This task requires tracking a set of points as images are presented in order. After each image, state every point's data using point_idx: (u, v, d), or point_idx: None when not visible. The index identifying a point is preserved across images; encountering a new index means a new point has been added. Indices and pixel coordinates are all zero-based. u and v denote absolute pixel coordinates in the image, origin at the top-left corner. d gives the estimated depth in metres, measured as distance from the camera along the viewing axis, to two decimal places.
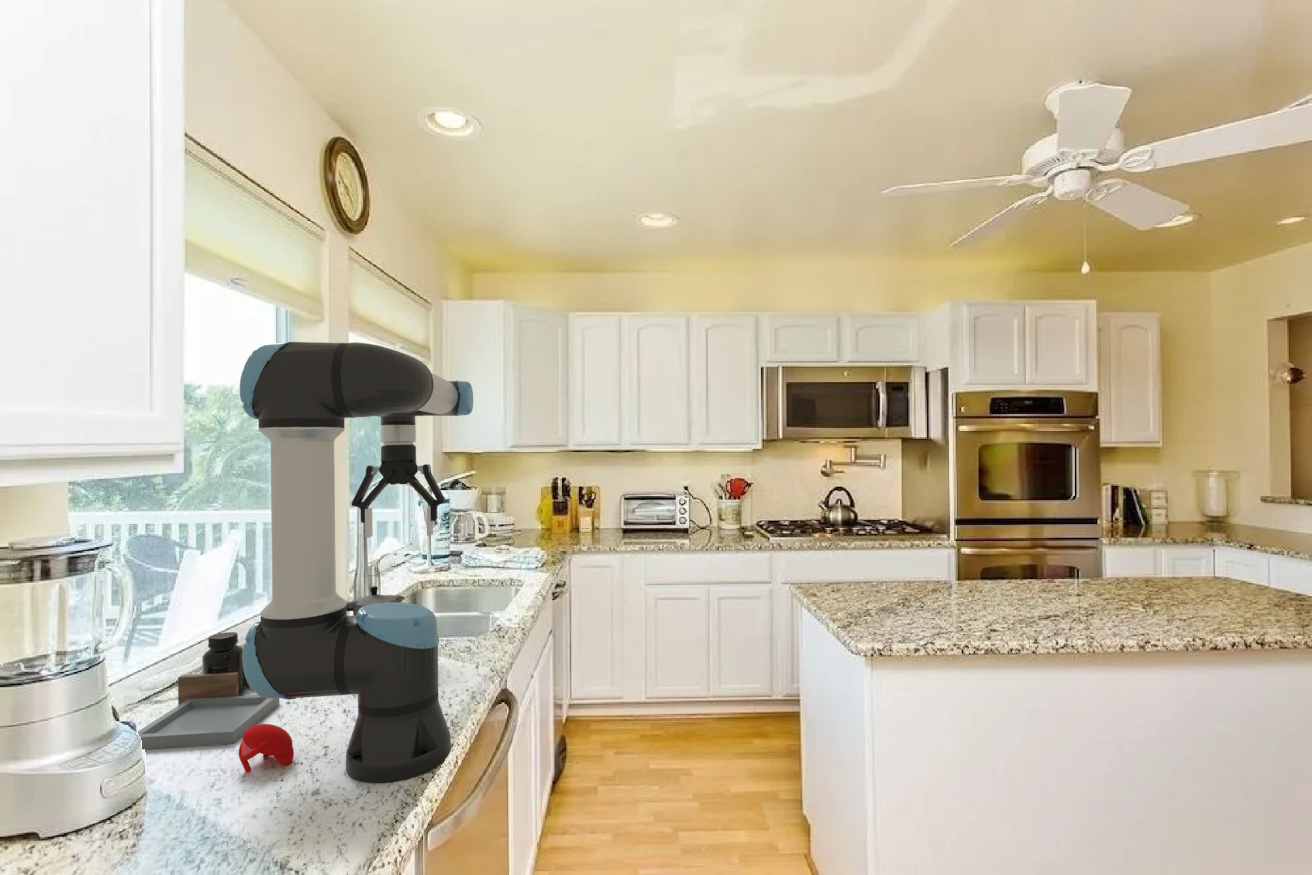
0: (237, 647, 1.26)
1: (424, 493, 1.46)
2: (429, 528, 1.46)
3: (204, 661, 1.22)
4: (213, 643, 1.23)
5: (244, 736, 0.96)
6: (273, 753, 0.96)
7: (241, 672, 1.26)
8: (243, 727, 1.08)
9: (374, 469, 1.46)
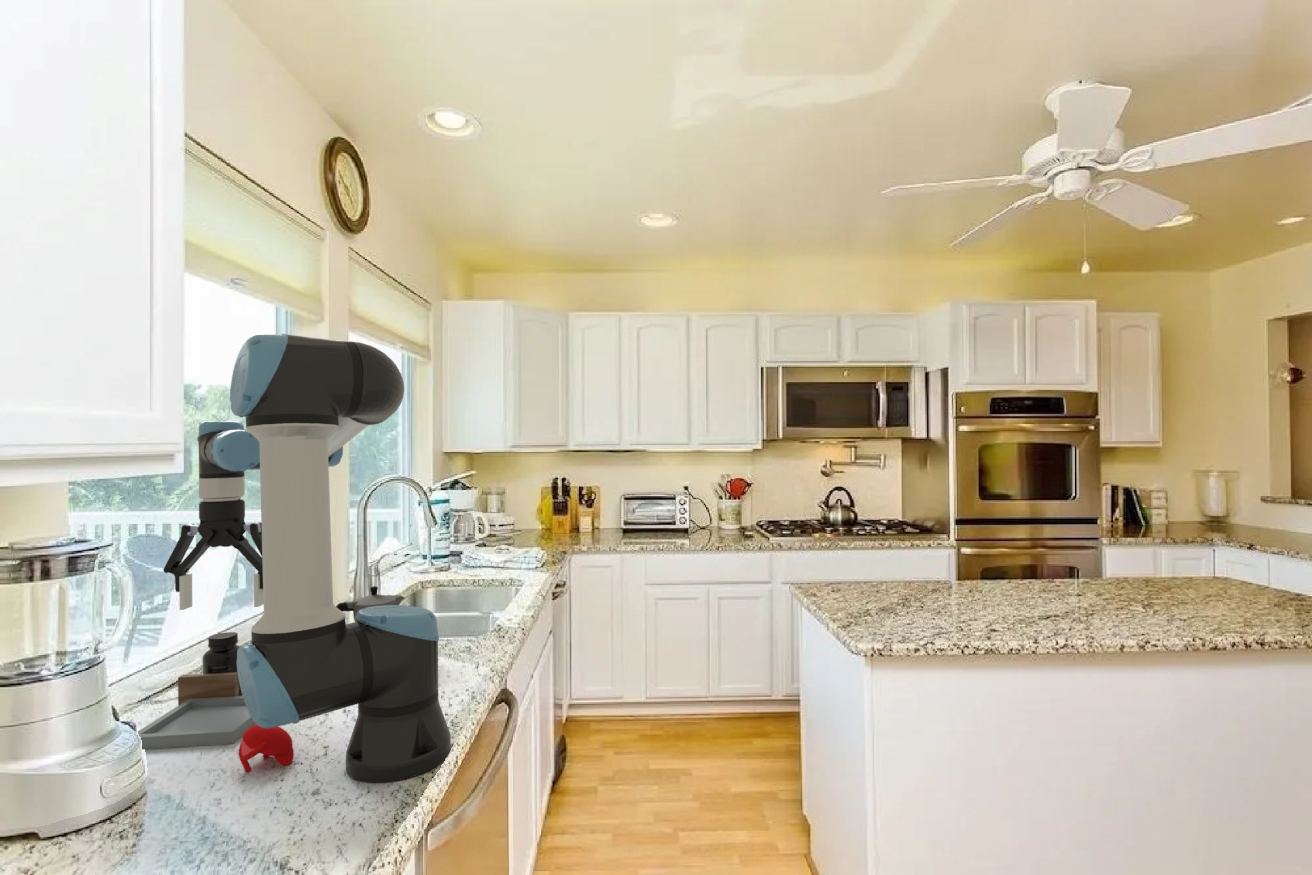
0: (237, 647, 1.26)
1: (251, 557, 1.25)
2: (257, 598, 1.25)
3: (204, 661, 1.22)
4: (213, 643, 1.23)
5: (244, 736, 0.96)
6: (273, 753, 0.96)
7: None
8: (243, 727, 1.08)
9: (192, 529, 1.25)
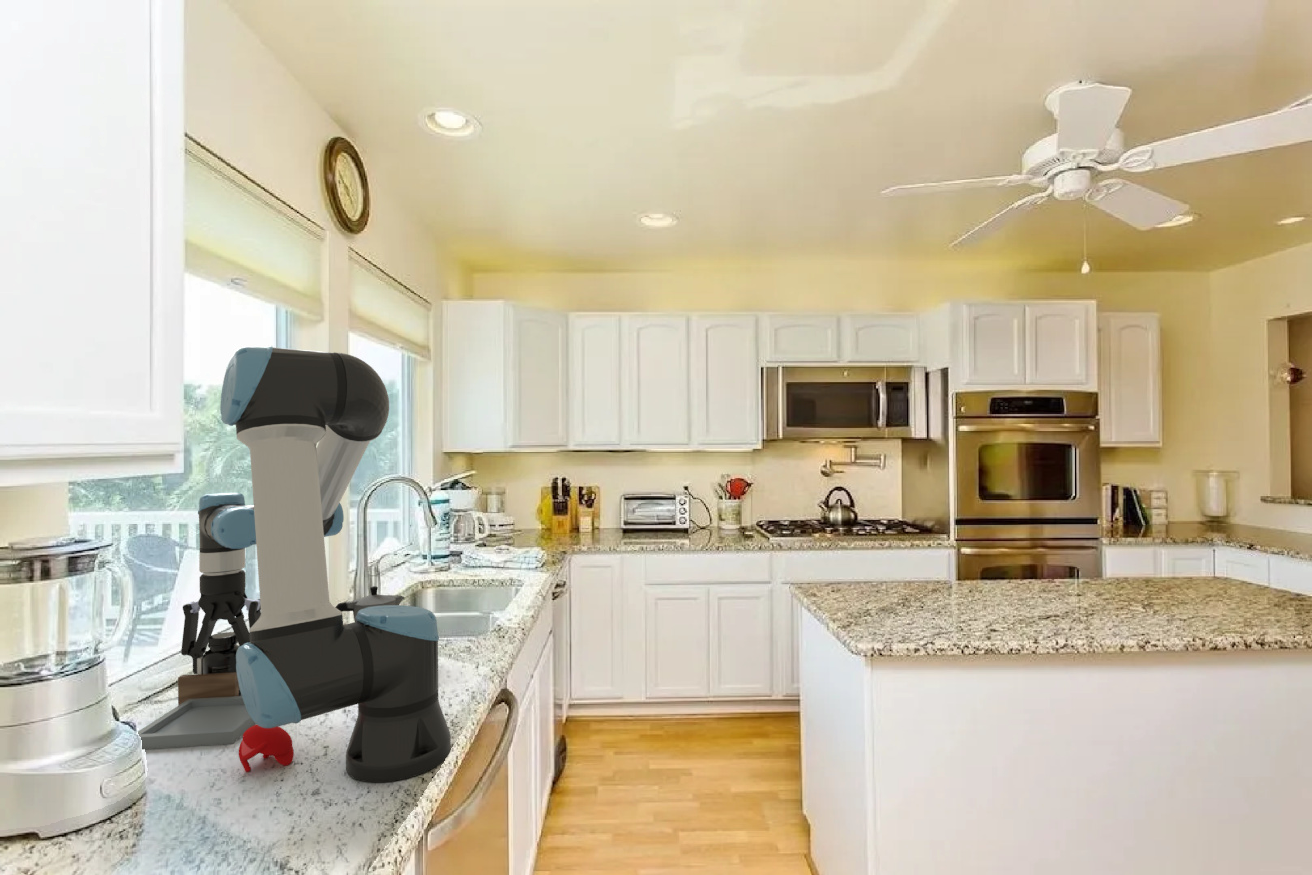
0: (237, 647, 1.26)
1: (241, 637, 1.25)
2: None
3: (204, 661, 1.22)
4: (213, 643, 1.23)
5: (244, 736, 0.96)
6: (273, 753, 0.96)
7: None
8: (243, 727, 1.08)
9: (193, 606, 1.24)
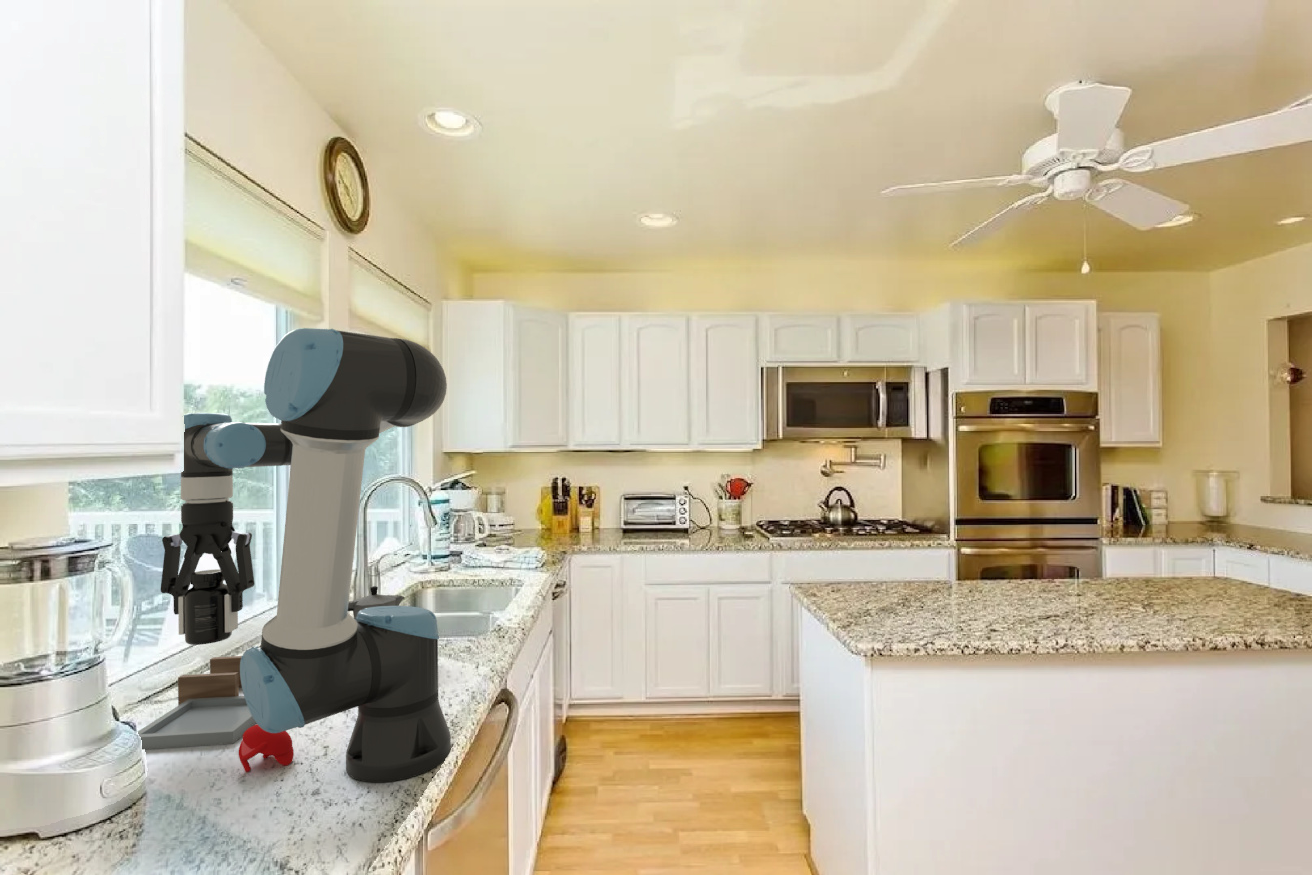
0: (223, 585, 1.13)
1: (228, 573, 1.12)
2: (228, 622, 1.11)
3: (186, 599, 1.09)
4: (196, 579, 1.10)
5: (244, 736, 0.96)
6: (273, 753, 0.96)
7: None
8: (243, 727, 1.08)
9: (174, 539, 1.11)
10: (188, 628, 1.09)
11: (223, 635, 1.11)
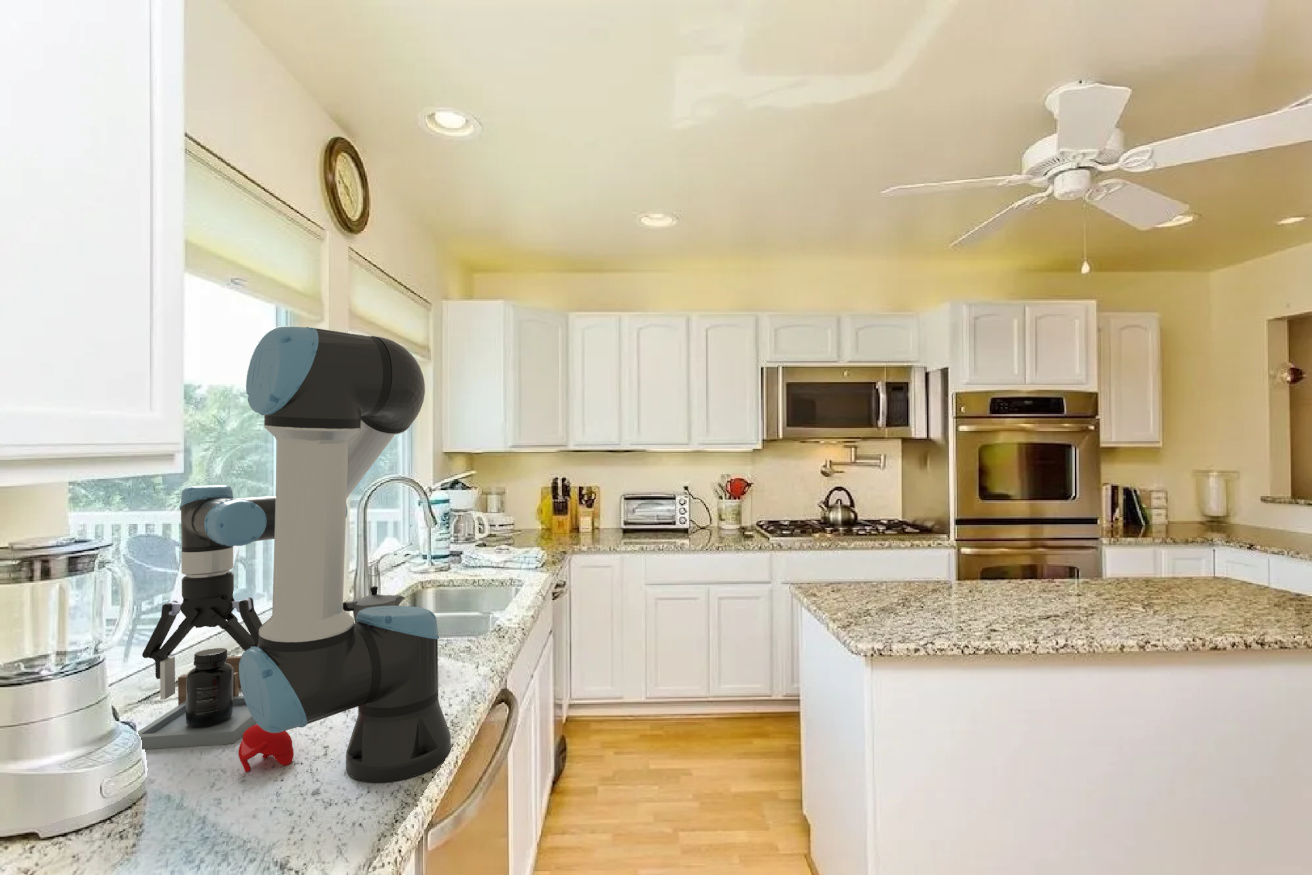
0: (226, 665, 1.13)
1: (240, 638, 1.12)
2: None
3: (189, 681, 1.09)
4: (199, 660, 1.10)
5: (244, 736, 0.96)
6: (273, 753, 0.96)
7: (229, 693, 1.12)
8: (243, 727, 1.08)
9: (174, 607, 1.11)
10: (189, 710, 1.09)
11: (224, 717, 1.11)
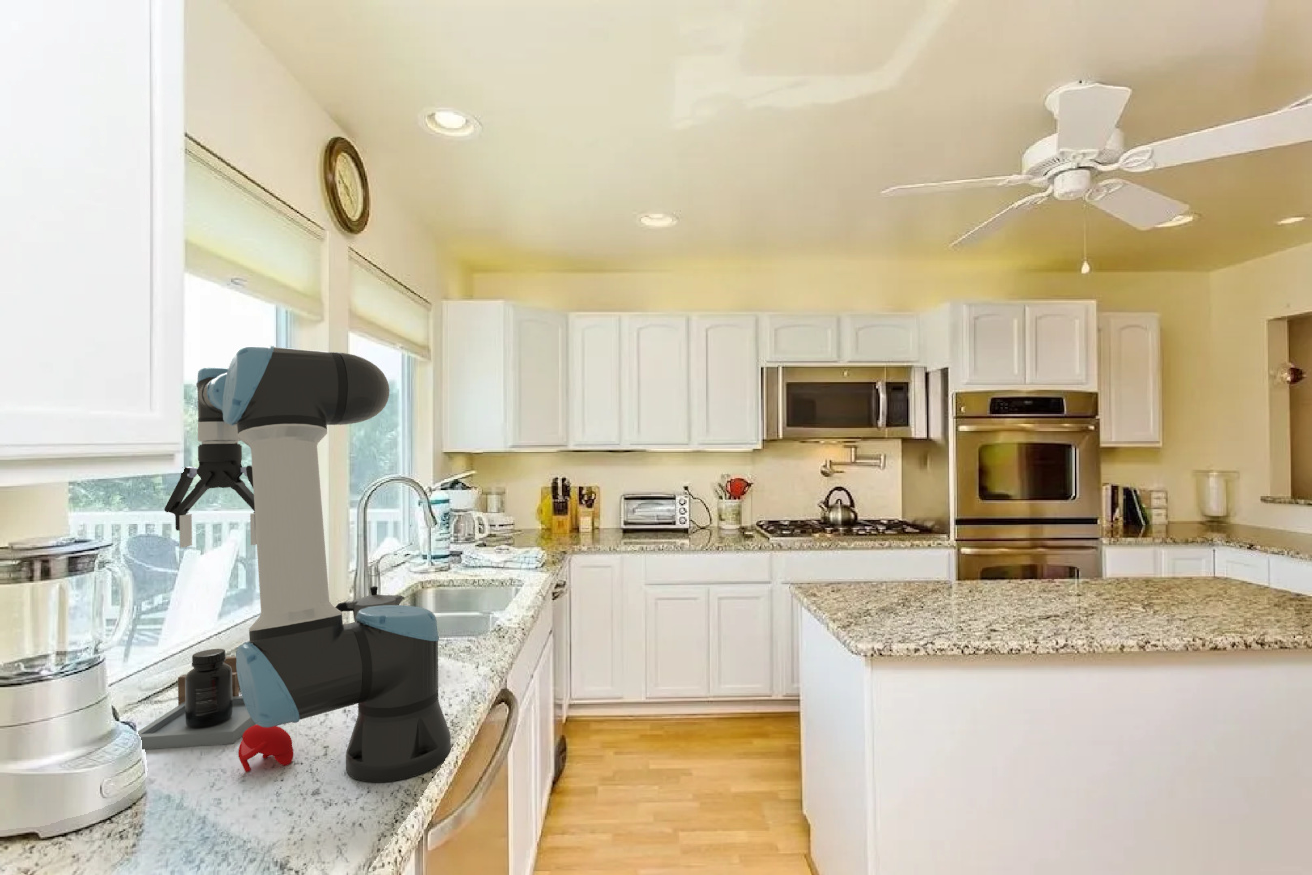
0: (224, 666, 1.13)
1: (248, 497, 1.32)
2: (253, 536, 1.32)
3: (187, 682, 1.09)
4: (197, 662, 1.10)
5: (244, 736, 0.96)
6: (273, 753, 0.96)
7: (229, 693, 1.12)
8: (243, 727, 1.08)
9: (191, 471, 1.31)
10: (189, 711, 1.09)
11: (224, 717, 1.11)
